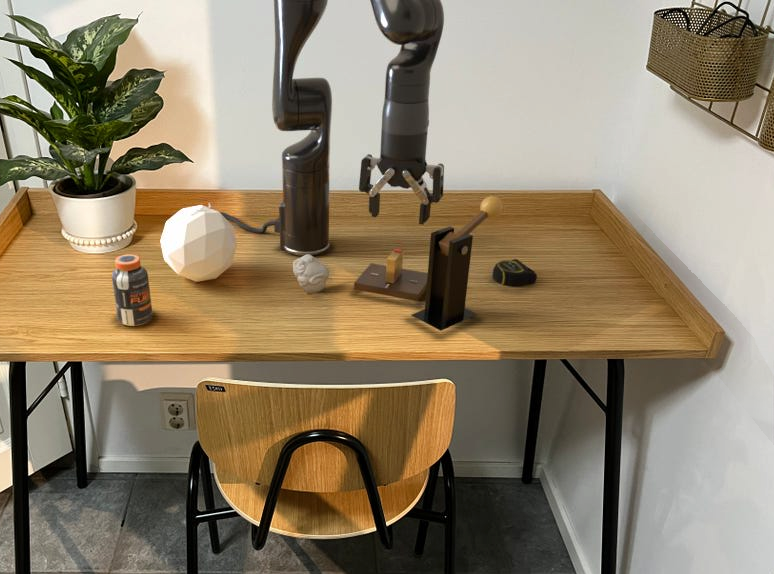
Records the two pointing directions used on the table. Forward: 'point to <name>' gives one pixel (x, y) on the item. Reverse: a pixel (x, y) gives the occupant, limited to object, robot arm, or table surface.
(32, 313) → the table surface
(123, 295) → the pill bottle
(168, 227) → the geodesic sphere
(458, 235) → the latch lever
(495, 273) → the tape measure
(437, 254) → the bracket
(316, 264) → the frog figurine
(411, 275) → the lock plate
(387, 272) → the tan wooden block
